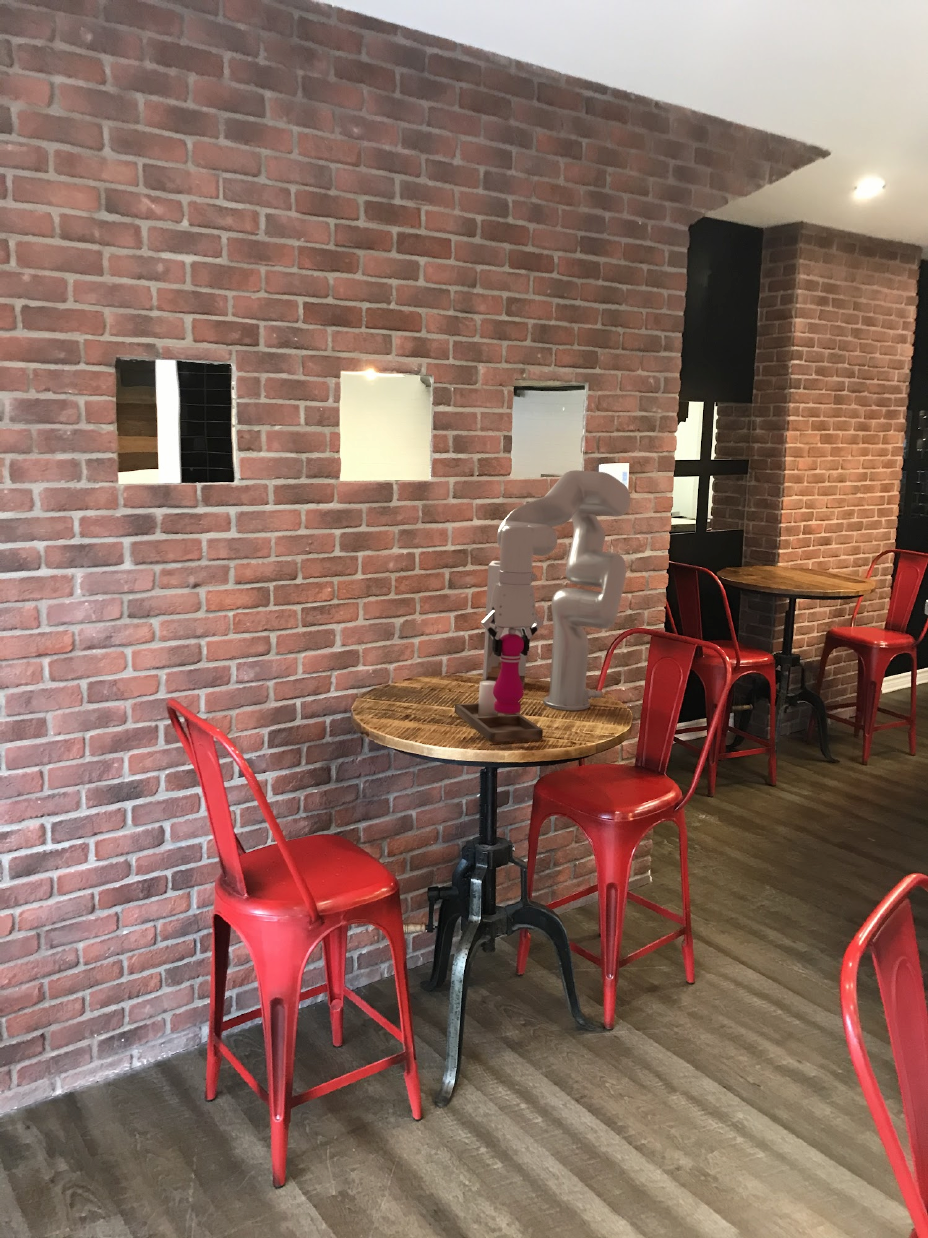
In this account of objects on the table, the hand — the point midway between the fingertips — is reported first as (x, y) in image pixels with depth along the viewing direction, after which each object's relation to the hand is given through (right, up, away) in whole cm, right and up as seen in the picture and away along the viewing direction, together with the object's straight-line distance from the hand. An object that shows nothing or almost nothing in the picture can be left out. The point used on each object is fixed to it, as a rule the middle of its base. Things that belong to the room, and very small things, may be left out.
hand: (510, 654), depth 230 cm
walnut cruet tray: (-3, -18, +9) cm, 21 cm away
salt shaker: (-5, -17, +15) cm, 22 cm away
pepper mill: (-1, -14, +2) cm, 14 cm away
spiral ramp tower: (+1, -11, +53) cm, 54 cm away
